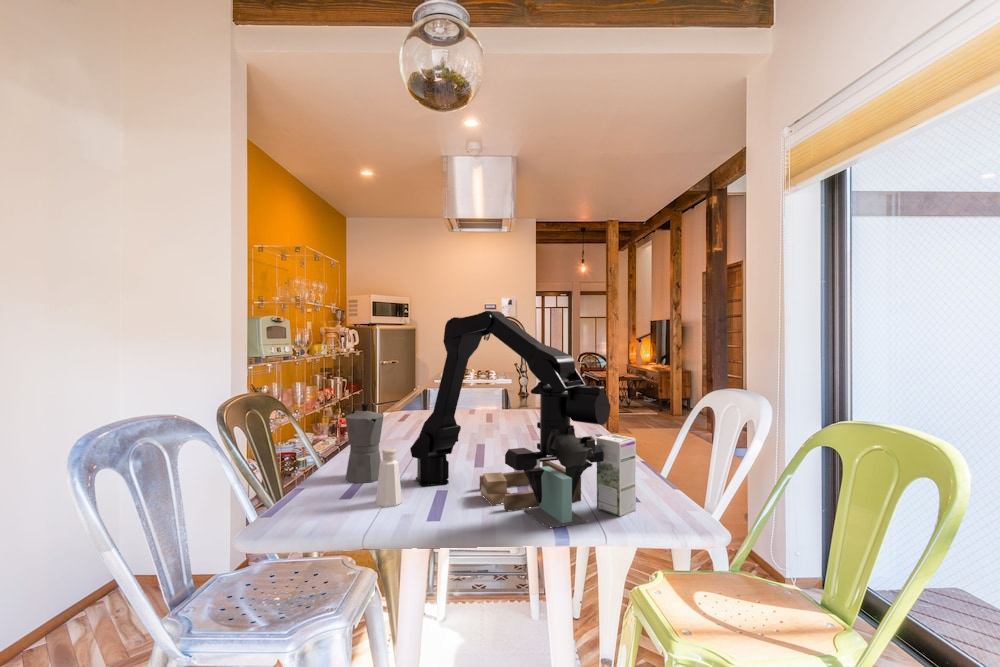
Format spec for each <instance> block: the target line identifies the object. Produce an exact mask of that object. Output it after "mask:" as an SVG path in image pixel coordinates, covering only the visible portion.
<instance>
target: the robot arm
mask: <svg viewBox="0 0 1000 667" xmlns="http://www.w3.org/2000/svg"><path fill="white" fill-rule="evenodd" d="M488 335H493V336H494V337H495V338H496V339H498V340H499V341H501V342H502V343H503V344H505V345H506V346H507V347H508V348H510V350H512V351H513V352H514V353H516V354H517V355H518V356H520V357H521V358H522V360H524V361H525V362H526V364H527V366H528V369H529V370H530V372H531V373H532V374H533V375H534V377H535V378H536V379H537V380H538V382H537V384H536V386H534V387H533V388H532V389H531V390H530V394H532V395H539V396H540V398H539V399H540V401H539V404H540V407H539V410H540V412H539V413H540V415H539V416H540V418H539V419H540V420H539V421H538V422H536V426H537V427H536V428H537V429H539V442H537V443H536V449H537V450H539V451H532V450H530V449H528V448H526V447H519V448H518V447H517V448H508V449H507V451H506V452H505V454H504V464H505V465H506V466H509V468H510V467H511V468H512V469H514V470H515V471H524V472H525V474H526V476H527V478H528V480H529V482H530V485H529V486H530V487H531V491H533V492H534V495H535V497H536V500H537V502H538V503H541V502H542V479H541V477H542V474H543V472H544V470H543V469H541V468H540V467H541V463H542V462H544V461H550V462H552V461H558V462H559V464H560V465H561V467H563V468H564V469H565V470H566V475H567V476H569V477H571V478H572V498H573V495H574V492H575V490H576V487H577V484H578V481H579V479H580V477H581V478H582V474H583V473H584V472H585V471H586V470H587V469H588V468H591V467H593V463H597V462H603V461H604V452H603V450H602V448H601V447H600V446H598V445H597V444H596V439H595V438H594V437H593V436H592V435H590V436H588V435H587V436H582V437H581V436H580V437H577V436H576V434H575V433H576V432H575V426H574V425H572V424H571V421H572V422H575V423H584V424H593V425H599V426H600V425H601V426H603V425H605V424H606V423H607V422H608V421H609V417H610V415H611V403H610V399H609V397H608V395H607V394H606V393H605V387H604V386H599V385H597V386H588V385H587V384H586V382H585V380H584V379H583V377H582V376H581V374H580V372H579V371H578V369H577V368H576V365H575V364H576V363H575V362H576V361H575V360H574V358H573V357H572V356H571V355H570V354H569V353H566V352H565V351H562V350H560V349H557V348H556V347H552V346H549V345H546V344H544V343H542V342H540V341H539V340H537V339H536V338H535V337H534V336H532V335H530V334H529V333H528V332H526V330H524V329H522V328H521V327H520V326H519V325H517V324H516V323H515V322H514V321H512V320H511V319H509V318H507V316H506V315H505V314H504V313H502V312H501V311H498V310H485V311H483V312H479V313H477V314H474V315H473V314H472V315H469V316H463V317H460V316H457V317H456V316H454V317H452V318H450V319H449V320H447V321H446V323H445V326H444V334H443V346H444V349H445V351H446V357H445V361H444V366H443V370H442V374H441V379H440V382H439V387H438V391H437V395H436V399H435V404H434V408H433V411H432V413H431V414H430V415H429V417H428V418H427V419H426V420H425V421H424V423H423V425H422V427H421V430H420V433H419V435H418V438H417V439H416V440H415V442H414V443H413V444H412V445H411V447H410V450H409V451H410V454H411V457H412V458H415V459H417V461H416V462H417V463H416V464H417V472H416V473H417V476H416V477H415V480H416V482H417V483H418V484H419V485H420V487H428V486H436V485H437V486H438V485H446V484H449V482H450V481H449V480H448V479H449V473H450V472H449V470H450V469H449V461H448V460H447V455H451V454H452V452H453V449H454V446H455V445H456V443H458V442H459V435H460V432H461V430H462V428H461V427H462V426H461V425H459V424H457V420H456V418H455V415H456V411H457V407H458V403H459V398H460V395H461V391H462V388H463V383H464V378H465V374H466V370H467V367H468V362H469V360H470V357H472V355H473V354H474V353H475V351H476V350H478V348H479V346H480V343H481V341H482V339H483V337H485V336H488Z"/></svg>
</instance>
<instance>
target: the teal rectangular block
mask: <svg viewBox="0 0 1000 667" xmlns="http://www.w3.org/2000/svg"><path fill="white" fill-rule="evenodd" d="M540 468H541V469H543V470H544V472H543V474H542V477H541V479H542V502H541V503H540V508H541V509H543V510H544V511H545V512H547V513H548V514H550V515H551V516H553V517H554V518H555V519H557V520H558V521H560V522H561V523H567V522H572V511H573V502H572V478H571V477H569V476H567V475H565V474H563V473H561V472H559V471H557V470H555V469H553V468H551V467H549V466H545V467H542V466H540Z"/></svg>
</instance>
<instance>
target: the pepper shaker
mask: <svg viewBox="0 0 1000 667" xmlns="http://www.w3.org/2000/svg"><path fill="white" fill-rule="evenodd" d="M381 453H382V460H381V462H380V467H379V476H378V481H377V487H376V495H375V497H376V498H375V503H376V505H377V507H380V506H382V507H381V508H390V507H391V506H393V507H397V506H398V504H399V505H400V503H401V504H402V503H403V499H402V490H401V489H402V488H401V487H402V486H401V478H400V466H399V462H398V460H396V456H397V454H396V453H397V449H395V448H393V447H389V448H384V449H382V451H381ZM396 505H397V506H396Z"/></svg>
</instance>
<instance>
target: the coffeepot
mask: <svg viewBox="0 0 1000 667" xmlns="http://www.w3.org/2000/svg"><path fill="white" fill-rule="evenodd" d="M368 407H369V403H366V402H365V403H362V404H361V408H362V409H361V410H358V409H353V410H352V411H351V414H346V416H345V425H346V432H347V440H348V445H350V451H349V456H348V462H347V468H346V474H345V481H346V482H349V483H350V484H351V483H353V484H368V483H375V482H378V476H379V467H380V462H381V461H382V459H381V453H380V443H381V434H382V430H383V429H382V428H383V421H384V414H383V413H378V412H375V411H370V410H368ZM374 481H375V482H374Z"/></svg>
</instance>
